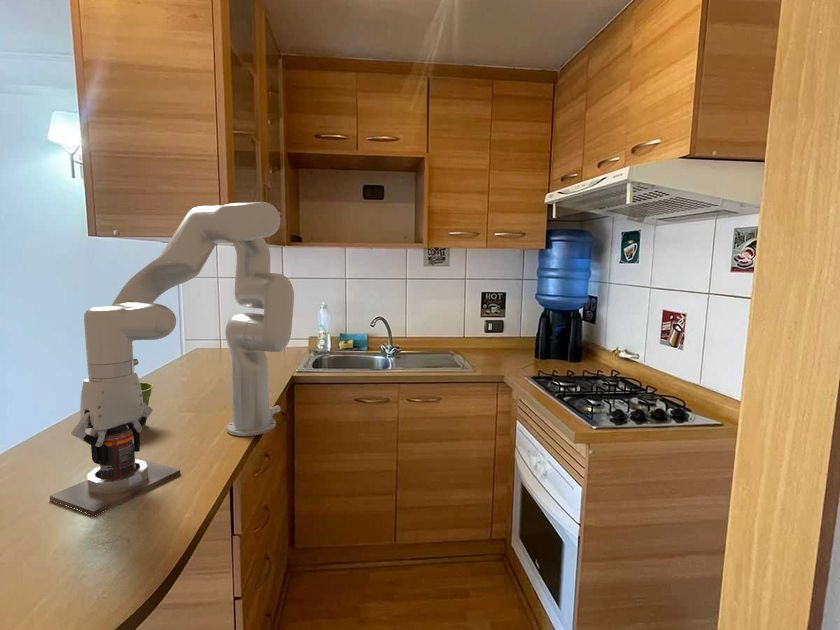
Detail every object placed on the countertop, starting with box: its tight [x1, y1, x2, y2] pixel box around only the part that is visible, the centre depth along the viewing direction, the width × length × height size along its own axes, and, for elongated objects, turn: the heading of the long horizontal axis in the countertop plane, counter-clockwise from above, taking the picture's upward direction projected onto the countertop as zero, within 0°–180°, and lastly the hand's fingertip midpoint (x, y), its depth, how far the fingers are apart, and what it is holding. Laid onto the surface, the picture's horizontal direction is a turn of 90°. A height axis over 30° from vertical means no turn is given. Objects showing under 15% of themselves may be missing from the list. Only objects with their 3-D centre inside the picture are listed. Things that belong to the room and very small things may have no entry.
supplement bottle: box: [99, 424, 136, 479], centre depth 93 cm, size 6×6×11 cm
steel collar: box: [86, 458, 148, 495], centre depth 94 cm, size 10×10×2 cm
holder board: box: [49, 458, 181, 517], centre depth 94 cm, size 18×13×1 cm
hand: (117, 456), depth 93 cm, fingers closed on supplement bottle, 6 cm apart
